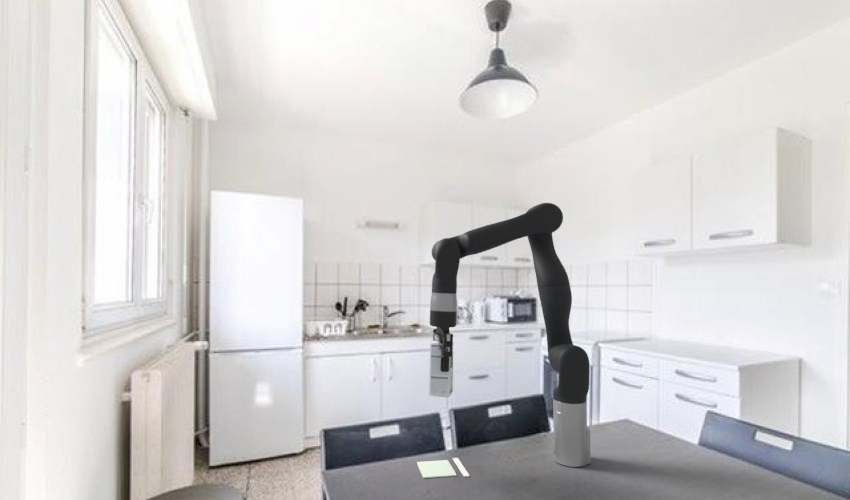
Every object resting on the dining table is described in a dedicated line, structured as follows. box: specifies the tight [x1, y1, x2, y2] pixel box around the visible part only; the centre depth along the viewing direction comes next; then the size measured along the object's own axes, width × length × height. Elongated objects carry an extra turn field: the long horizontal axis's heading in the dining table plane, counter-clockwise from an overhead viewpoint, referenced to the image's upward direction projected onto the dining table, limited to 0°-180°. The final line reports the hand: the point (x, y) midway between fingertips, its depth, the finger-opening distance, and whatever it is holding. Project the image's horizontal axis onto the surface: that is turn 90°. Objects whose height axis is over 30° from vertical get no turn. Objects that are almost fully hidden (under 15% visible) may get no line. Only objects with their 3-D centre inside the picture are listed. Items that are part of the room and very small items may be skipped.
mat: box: [416, 459, 457, 479], centre depth 119 cm, size 9×10×1 cm
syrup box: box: [428, 341, 454, 398], centre depth 122 cm, size 6×6×14 cm
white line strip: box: [452, 457, 470, 478], centre depth 121 cm, size 2×12×1 cm, turn 11°
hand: (441, 368), depth 122 cm, fingers closed on syrup box, 7 cm apart
